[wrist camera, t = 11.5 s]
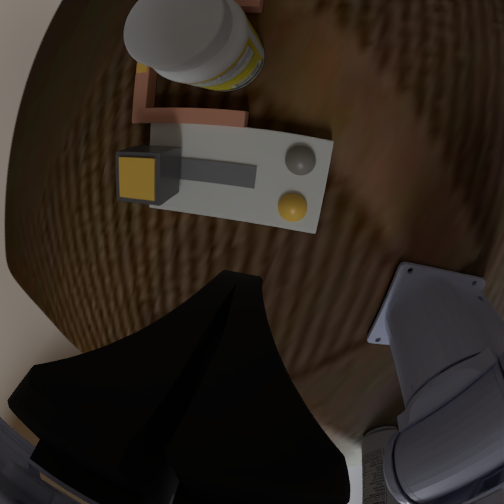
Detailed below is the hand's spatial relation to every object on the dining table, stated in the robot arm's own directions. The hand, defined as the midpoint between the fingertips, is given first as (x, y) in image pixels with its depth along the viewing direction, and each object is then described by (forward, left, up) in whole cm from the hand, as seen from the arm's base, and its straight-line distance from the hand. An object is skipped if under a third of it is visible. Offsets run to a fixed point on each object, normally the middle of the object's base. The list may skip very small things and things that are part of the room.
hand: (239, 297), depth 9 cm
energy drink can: (-21, +29, -10) cm, 37 cm away
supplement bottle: (+4, -10, -10) cm, 14 cm away
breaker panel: (+2, -2, -10) cm, 10 cm away
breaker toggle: (+7, -2, -9) cm, 12 cm away
